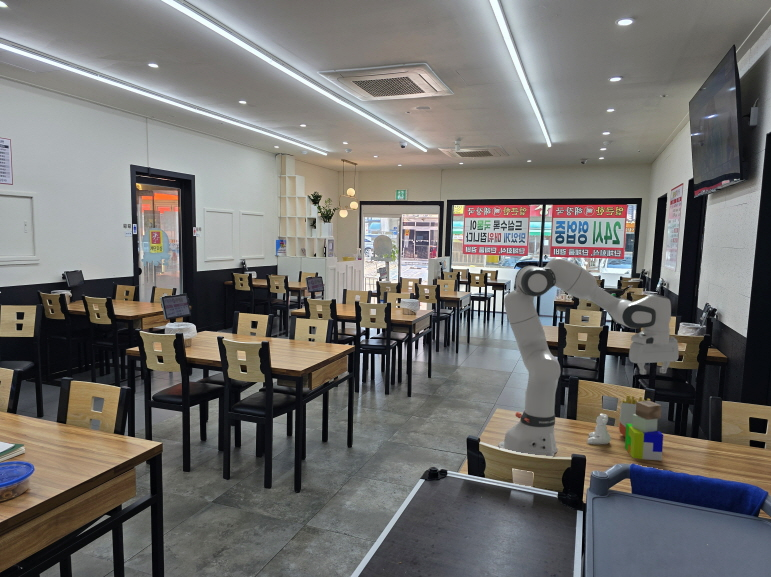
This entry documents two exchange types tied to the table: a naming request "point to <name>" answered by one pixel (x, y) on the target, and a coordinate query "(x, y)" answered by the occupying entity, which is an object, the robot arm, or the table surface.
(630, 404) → the french fries container
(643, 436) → the puzzle toy
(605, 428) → the white creature statuette
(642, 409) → the brick
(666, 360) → the robot arm
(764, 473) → the table surface
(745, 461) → the table surface
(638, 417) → the brick
